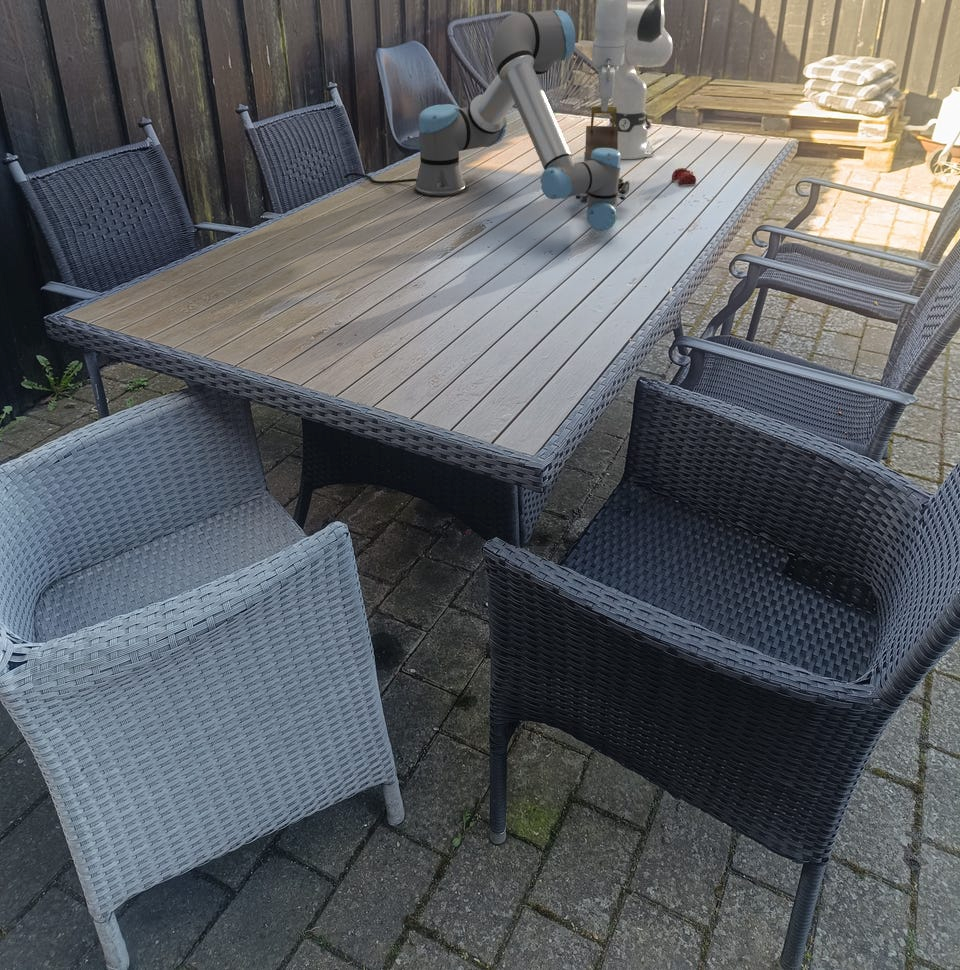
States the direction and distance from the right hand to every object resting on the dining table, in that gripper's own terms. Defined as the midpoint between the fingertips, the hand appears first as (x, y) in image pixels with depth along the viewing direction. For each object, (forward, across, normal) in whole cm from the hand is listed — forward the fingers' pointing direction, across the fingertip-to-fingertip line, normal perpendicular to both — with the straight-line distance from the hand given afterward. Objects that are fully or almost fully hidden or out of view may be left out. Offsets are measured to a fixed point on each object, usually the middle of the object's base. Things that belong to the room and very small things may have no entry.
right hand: (603, 109), depth 243 cm
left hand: (+17, -8, 0) cm, 19 cm away
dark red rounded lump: (+24, +12, -27) cm, 38 cm away
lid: (+10, -3, 0) cm, 10 cm away
